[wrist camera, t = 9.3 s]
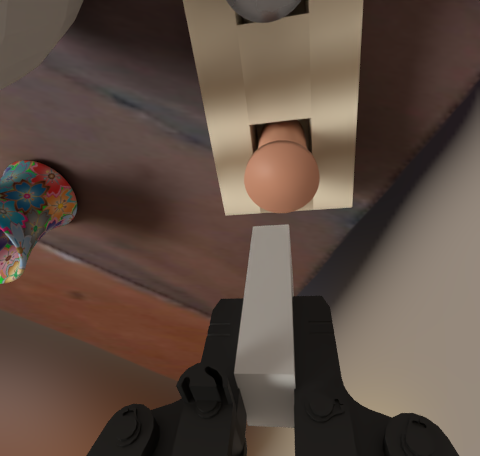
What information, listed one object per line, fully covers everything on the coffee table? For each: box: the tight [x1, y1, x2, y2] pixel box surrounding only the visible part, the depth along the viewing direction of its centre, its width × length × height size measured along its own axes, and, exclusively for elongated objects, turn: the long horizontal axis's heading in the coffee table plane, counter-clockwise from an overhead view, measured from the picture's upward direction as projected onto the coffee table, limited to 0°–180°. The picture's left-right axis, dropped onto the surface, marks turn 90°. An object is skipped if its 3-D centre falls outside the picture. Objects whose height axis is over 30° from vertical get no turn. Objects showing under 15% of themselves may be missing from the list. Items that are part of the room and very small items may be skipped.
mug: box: [0, 160, 77, 283], centre depth 32 cm, size 12×9×11 cm
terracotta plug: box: [244, 120, 320, 213], centre depth 24 cm, size 5×5×9 cm
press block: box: [183, 0, 363, 215], centre depth 24 cm, size 22×11×6 cm, turn 8°
